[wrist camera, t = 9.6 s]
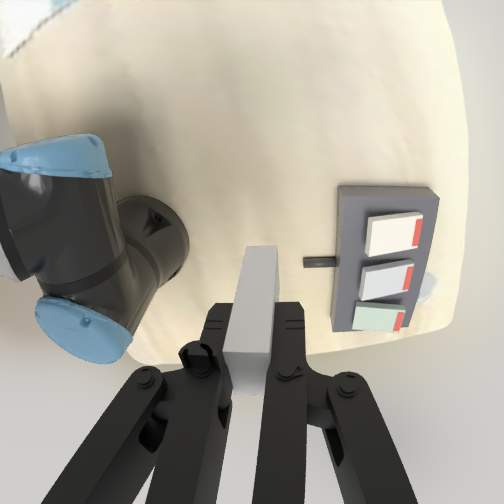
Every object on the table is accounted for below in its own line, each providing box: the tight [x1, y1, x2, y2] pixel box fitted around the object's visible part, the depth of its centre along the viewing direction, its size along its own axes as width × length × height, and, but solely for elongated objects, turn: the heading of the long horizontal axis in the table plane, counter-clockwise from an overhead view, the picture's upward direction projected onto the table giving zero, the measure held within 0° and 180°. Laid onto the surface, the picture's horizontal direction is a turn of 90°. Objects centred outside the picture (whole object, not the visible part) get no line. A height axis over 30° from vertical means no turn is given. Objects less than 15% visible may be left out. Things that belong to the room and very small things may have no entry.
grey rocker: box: [359, 259, 414, 301], centre depth 39 cm, size 8×5×1 cm, turn 96°
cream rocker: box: [365, 211, 423, 257], centre depth 36 cm, size 8×5×1 cm, turn 96°
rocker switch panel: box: [303, 186, 440, 332], centre depth 43 cm, size 19×24×5 cm
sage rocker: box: [352, 301, 406, 333], centre depth 43 cm, size 8×5×1 cm, turn 95°
